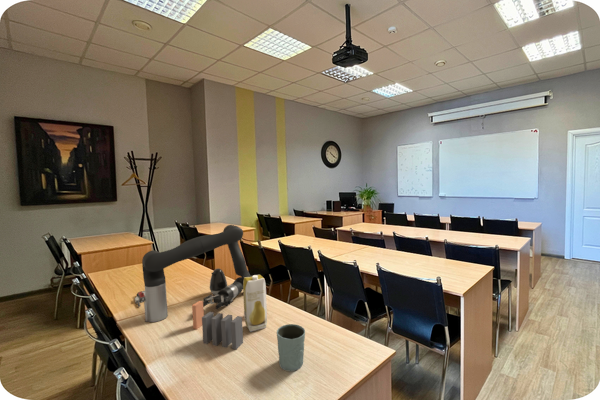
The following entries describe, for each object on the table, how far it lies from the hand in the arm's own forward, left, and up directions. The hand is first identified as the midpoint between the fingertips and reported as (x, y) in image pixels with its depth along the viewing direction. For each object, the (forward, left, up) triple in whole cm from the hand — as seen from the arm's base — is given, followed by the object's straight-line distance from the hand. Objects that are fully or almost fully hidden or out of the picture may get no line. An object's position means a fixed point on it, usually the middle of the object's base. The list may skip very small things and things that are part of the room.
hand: (209, 306), depth 136 cm
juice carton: (+22, -14, -6) cm, 27 cm away
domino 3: (+6, -22, -6) cm, 24 cm away
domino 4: (+10, -25, -6) cm, 27 cm away
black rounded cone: (+1, +31, -6) cm, 32 cm away
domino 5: (+14, -27, -6) cm, 31 cm away
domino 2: (+2, -20, -6) cm, 21 cm away
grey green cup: (+34, -43, -6) cm, 55 cm away
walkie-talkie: (-41, +32, -7) cm, 53 cm away
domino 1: (-4, -7, -6) cm, 10 cm away
